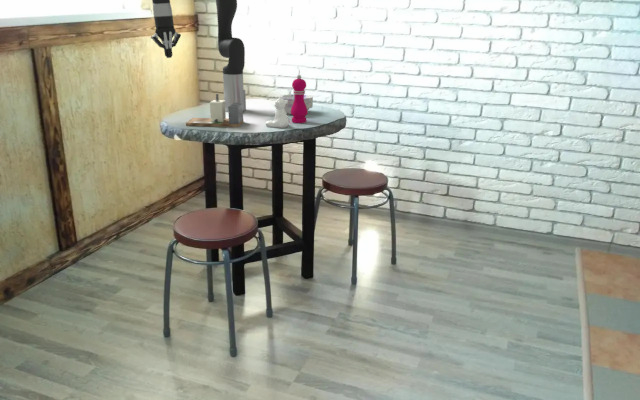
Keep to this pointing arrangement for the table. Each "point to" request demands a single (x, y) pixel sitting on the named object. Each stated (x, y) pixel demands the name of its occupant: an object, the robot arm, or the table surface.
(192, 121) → the brown wooden board
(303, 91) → the pepper mill
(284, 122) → the white creature statuette
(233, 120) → the grey rectangular block
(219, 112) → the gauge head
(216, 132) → the table surface
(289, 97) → the paper bowls
